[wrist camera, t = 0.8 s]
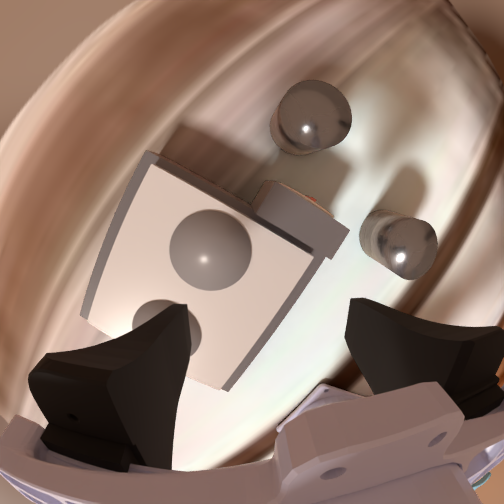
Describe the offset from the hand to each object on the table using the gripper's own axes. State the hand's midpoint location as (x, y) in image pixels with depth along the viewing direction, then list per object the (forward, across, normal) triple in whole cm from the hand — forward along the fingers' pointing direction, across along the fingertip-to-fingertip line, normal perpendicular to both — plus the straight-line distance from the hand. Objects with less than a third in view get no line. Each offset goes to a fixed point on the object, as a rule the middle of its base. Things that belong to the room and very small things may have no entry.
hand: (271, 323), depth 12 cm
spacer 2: (+9, -10, -2) cm, 14 cm away
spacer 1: (+9, -3, -10) cm, 14 cm away
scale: (+9, +4, 0) cm, 10 cm away
